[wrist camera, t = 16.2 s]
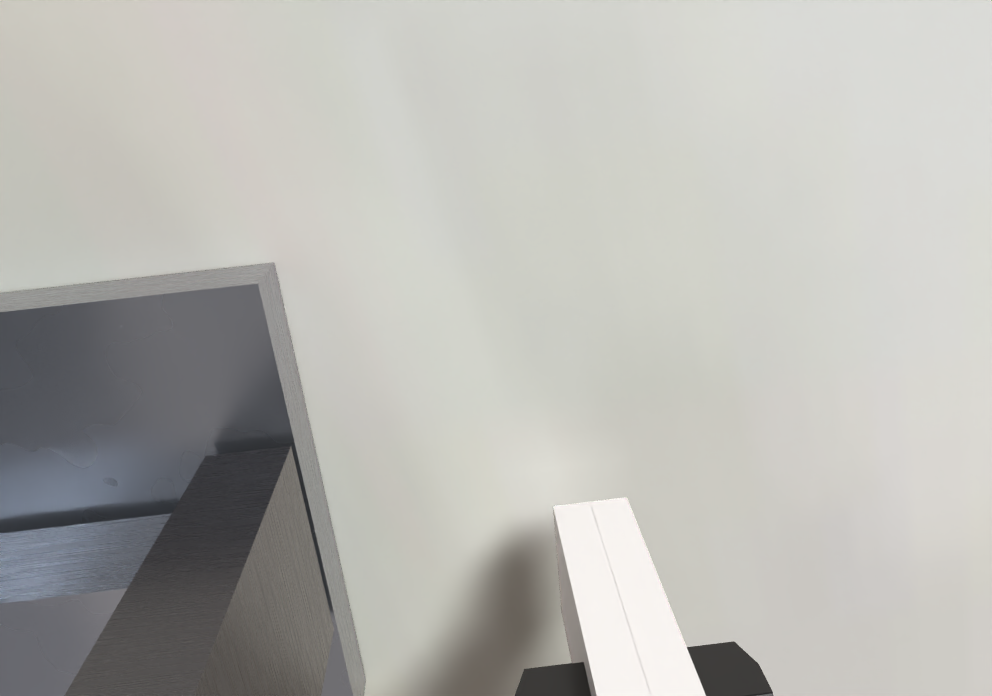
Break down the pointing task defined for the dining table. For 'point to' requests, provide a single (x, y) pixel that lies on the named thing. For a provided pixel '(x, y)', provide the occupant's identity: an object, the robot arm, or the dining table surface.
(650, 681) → the robot arm
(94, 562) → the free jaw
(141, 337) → the vise base
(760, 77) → the dining table surface
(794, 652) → the dining table surface
